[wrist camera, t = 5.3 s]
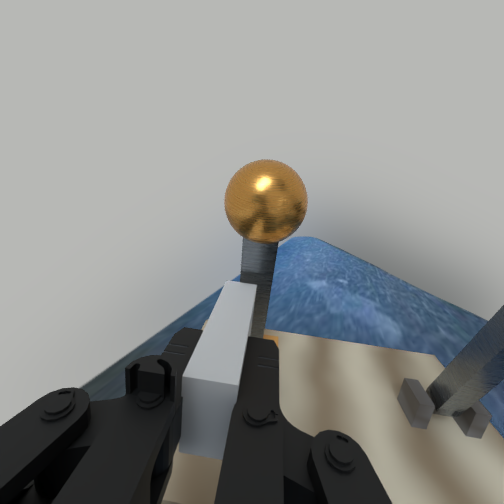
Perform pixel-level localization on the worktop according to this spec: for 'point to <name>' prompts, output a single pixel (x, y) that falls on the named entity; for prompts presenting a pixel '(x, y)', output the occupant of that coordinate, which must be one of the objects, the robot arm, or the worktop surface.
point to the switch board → (373, 424)
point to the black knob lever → (471, 371)
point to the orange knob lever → (264, 223)
